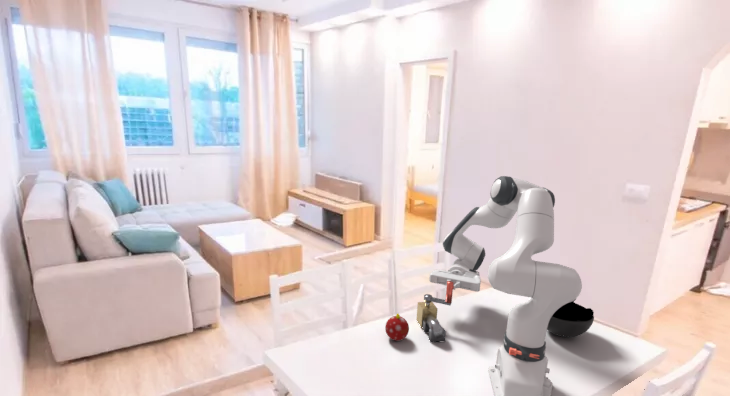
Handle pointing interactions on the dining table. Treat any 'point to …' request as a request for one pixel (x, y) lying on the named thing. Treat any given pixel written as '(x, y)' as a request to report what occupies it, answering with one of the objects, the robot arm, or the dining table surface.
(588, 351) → the dining table surface
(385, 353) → the dining table surface
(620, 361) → the dining table surface
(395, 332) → the christmas ornament
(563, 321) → the bowl of black rocks
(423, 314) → the valve
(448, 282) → the lever
